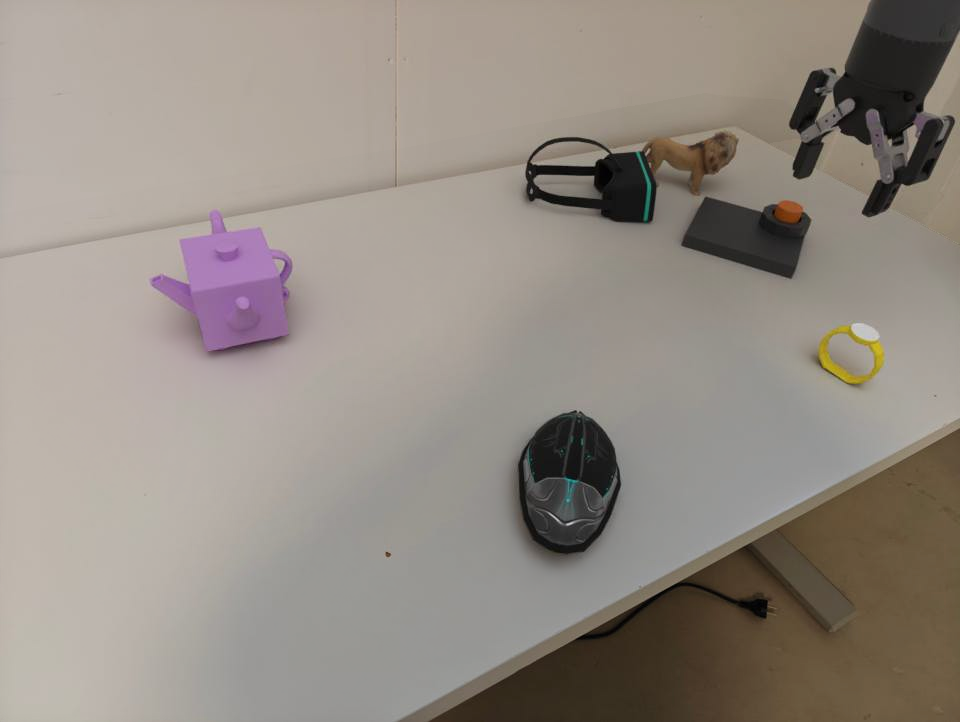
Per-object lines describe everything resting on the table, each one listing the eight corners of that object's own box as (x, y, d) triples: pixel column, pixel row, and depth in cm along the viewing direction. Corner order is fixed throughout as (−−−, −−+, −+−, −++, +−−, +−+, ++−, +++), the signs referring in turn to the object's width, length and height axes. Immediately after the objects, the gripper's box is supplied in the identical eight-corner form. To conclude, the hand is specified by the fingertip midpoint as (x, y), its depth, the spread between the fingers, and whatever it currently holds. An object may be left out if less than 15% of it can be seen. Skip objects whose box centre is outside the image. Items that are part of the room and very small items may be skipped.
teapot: (158, 289, 75) (135, 209, 69) (280, 268, 80) (269, 191, 73) (178, 398, 63) (152, 314, 57) (319, 366, 68) (310, 285, 61)
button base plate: (803, 234, 94) (813, 212, 92) (791, 279, 86) (802, 255, 83) (702, 206, 98) (709, 184, 96) (681, 246, 90) (688, 222, 87)
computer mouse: (622, 425, 65) (635, 380, 61) (609, 582, 52) (625, 538, 48) (531, 407, 66) (539, 362, 62) (498, 557, 53) (505, 512, 49)
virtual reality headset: (652, 223, 93) (661, 153, 86) (527, 229, 94) (526, 160, 87) (639, 185, 101) (646, 118, 94) (524, 190, 102) (523, 124, 95)
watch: (806, 363, 74) (829, 320, 70) (819, 354, 75) (842, 310, 71) (859, 395, 70) (886, 351, 66) (872, 384, 72) (899, 341, 68)
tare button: (799, 216, 92) (805, 204, 90) (796, 226, 89) (802, 214, 88) (775, 209, 93) (780, 197, 91) (771, 219, 90) (776, 207, 89)
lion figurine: (721, 184, 104) (740, 126, 98) (723, 201, 100) (743, 142, 94) (623, 170, 105) (637, 112, 99) (622, 185, 101) (636, 126, 95)
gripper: (1016, 45, 56) (919, 220, 67) (868, -2, 65) (803, 159, 76) (963, 55, 53) (870, 237, 64) (815, 4, 62) (755, 171, 73)
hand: (834, 195), depth 70 cm, fingers open, 8 cm apart
